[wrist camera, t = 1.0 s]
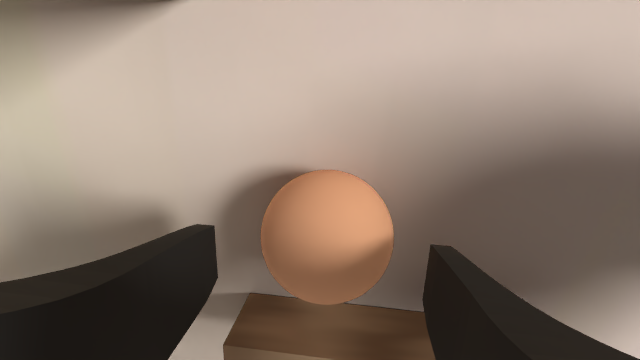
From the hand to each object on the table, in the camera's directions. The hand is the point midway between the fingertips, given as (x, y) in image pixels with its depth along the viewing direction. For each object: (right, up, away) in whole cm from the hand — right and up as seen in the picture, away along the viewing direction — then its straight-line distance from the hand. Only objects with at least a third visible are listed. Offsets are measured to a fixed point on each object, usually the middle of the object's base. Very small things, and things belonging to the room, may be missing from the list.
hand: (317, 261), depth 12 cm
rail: (+3, -4, +5) cm, 8 cm away
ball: (+1, +1, +4) cm, 4 cm away
